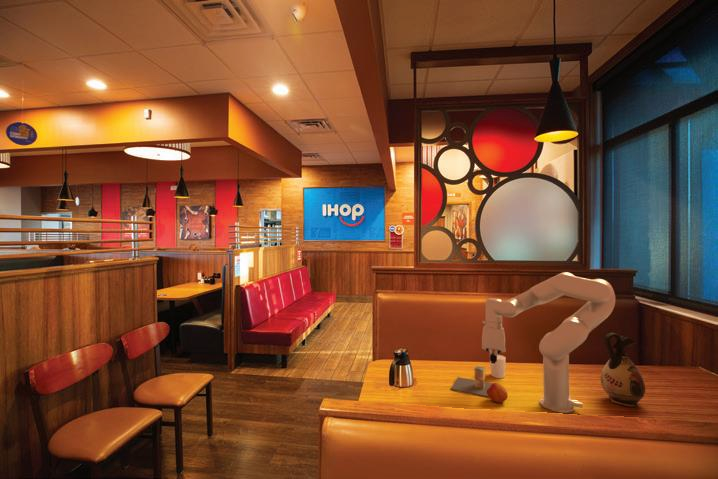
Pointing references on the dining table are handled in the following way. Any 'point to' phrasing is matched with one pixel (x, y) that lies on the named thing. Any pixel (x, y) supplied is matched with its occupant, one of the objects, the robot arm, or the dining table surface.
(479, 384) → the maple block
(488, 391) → the fruit
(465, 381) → the rubber mat
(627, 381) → the ceramic jug
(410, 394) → the dining table surface
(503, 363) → the white cup
